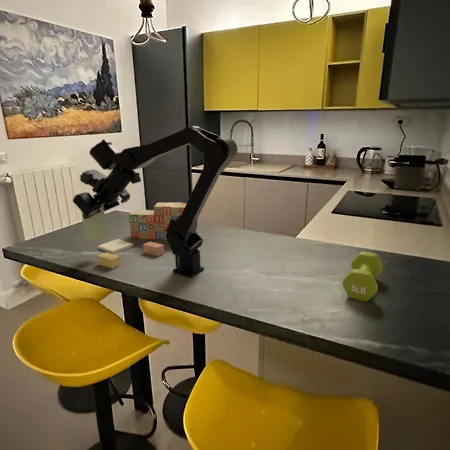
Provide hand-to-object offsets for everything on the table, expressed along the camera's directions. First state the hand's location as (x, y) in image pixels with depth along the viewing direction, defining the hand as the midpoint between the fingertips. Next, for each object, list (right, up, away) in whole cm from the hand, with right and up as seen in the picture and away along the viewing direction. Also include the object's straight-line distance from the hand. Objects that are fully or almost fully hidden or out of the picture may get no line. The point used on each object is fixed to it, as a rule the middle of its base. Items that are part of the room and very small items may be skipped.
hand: (89, 215), depth 102 cm
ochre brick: (+7, -15, -2) cm, 16 cm away
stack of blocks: (+18, -7, +21) cm, 29 cm away
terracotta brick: (+18, -12, +6) cm, 23 cm away
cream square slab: (+4, -11, +11) cm, 16 cm away
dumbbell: (+76, -19, -16) cm, 80 cm away
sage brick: (+1, -6, +2) cm, 7 cm away
